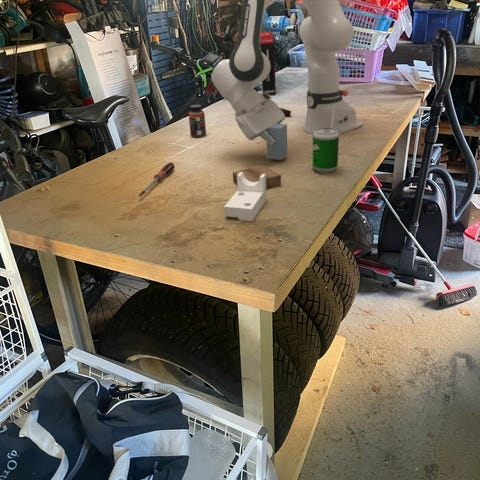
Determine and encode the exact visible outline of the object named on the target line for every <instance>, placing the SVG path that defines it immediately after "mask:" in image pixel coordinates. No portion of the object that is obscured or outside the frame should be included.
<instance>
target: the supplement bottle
mask: <svg viewBox="0 0 480 480" xmlns="http://www.w3.org/2000/svg"><path fill="white" fill-rule="evenodd" d="M188 123H189V130H190V133H189V134H190V136H191V137H192V138H204V137H205V136H206V135H207V130H206V129H207V128H206V116H205V111H204V110H203V109H202V105H201V104H192V105H190V111H189V112H188Z"/></svg>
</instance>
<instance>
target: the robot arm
mask: <svg viewBox="0 0 480 480" xmlns="http://www.w3.org/2000/svg"><path fill="white" fill-rule="evenodd" d="M275 1H276V0H242V6H241V13H240V19H239V20H240V21H239V25H238V26H239V27H238V35H237V41H236V43H235V45H234V48H233V50H232V52H230V56H229V58H228V59H226V58H225V59H222V60H220V61H219V62H218V63H217V64H216V65H215V66H214V68H213V70H212V72H211V76H210V77H211V82H212V84H213V85H214V87H215V88H216V90H217V91H218V93H219V94H220V95H221V96H222V97H223V99H224V100H226V101H227V102H228V103H230V105H231V108H232V109H233V110H234V112H235V116H234V117H235V118H234V120H235V121H236V123H237V126H238V128H239V130H241V132H242V133H243V135H244V137H246V138H247V139H248V140H249V141H254V140H256V138H259V137H260V138H261V139H262V140H264V141H265V142H267V141H268V142H269V144H270V145H273V144H274V143H275V142H276V139H275V138H274V137H271V136H270V135H268V134H267V133H268V132H267V131H266V130H267V129H268V127H270V126H272V125H273V124H275V123H279V124H282V122H283V121H284V120H285V119H286V117H285V115H284V113H283V112H282V110H281V109H280V108H281V107H280V106H279V105H278V104H277V103H276V102H275V101H274V100H271V99H272V95H269V94H265V93H263V92H257V91H256V90H255V89H254V87H255V86H256V87H257V86H258V85H259V84H261V83H262V81H263V80H265V79H266V78H267V76H268V75H269V73H270V69H271V64H270V61H269V59H268V57H267V56H266V55H265V54H264V53H262V52H261V49H260V36H261V32H262V28H263V21H264V14H265V12H266V11H267V8H268V7H269V6H271V5H273V4H274V3H275ZM301 3H302V5H303V6H304V7H305V9H306V10H307V13H308V15H309V16H306V17H305V18H304V19H303V20H302V21H301V23H300V26H299V29H298V35H299V38H300V40H301V42H302V43H303V48H304V52H305V57H306V62H307V63H306V64H307V72H308V76H307V78H308V80H307V82H308V83H307V85H308V86H307V88H308V89H307V91H306V105H307V108H306V116H305V121H304V126H303V128H302V129H303V131H305V132H307V133H310V134H313V133H314V132H315V131H316V130H317V129H319V128H334V129H336V131H337V132H338V133H339V135H340V134H343V133H345V132H349V131H352V130H355V129H358V128H360V127H362V126H363V122H362V121H361V120H358V119H357V113H356V109H355V108H354V107H353V106H351V105H350V104H349V103H348V102H346V101H345V100H344V99H343V96H344V97H347V96H348V95H349V91H348V90H345V89H343V90H341V89H340V75H341V73H340V71H341V69H340V64H339V63H338V60H337V57H336V54H335V52H339V51H340V52H341V51H343V50H346V49H348V47H350V45H351V43H352V42H353V39H354V35H355V31H354V27H353V24H352V22H350V20H349V19H348V18H347V17H346V15H345V13H344V11H343V8H342V6H341V4H340V1H339V0H301Z"/></svg>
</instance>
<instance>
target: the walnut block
mask: <svg viewBox="0 0 480 480" xmlns="http://www.w3.org/2000/svg"><path fill="white" fill-rule="evenodd" d="M240 172H243V173H244V176H245V178H246V179H247V180H248V181H250V182H258V181H259V178H260V176H261V175H262V174H266V190H267V189H270V188H274V187H277V186H281V185H282V174H280V173H278V172H276V171H274V170H272V169H271V168H269V167H267V166H265V165H263V164H260V165H256V166H253V167H249V168H244V169H241V170H236V171H233V172H232V180H233V183H234V184H235V185H237V175H238V174H239V173H240Z"/></svg>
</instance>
